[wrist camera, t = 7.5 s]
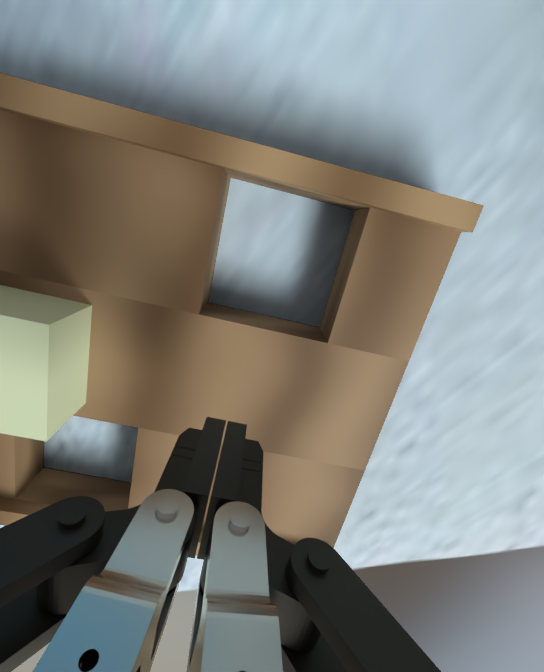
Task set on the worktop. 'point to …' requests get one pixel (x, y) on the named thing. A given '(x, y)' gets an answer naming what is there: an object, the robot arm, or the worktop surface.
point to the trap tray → (197, 313)
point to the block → (41, 362)
